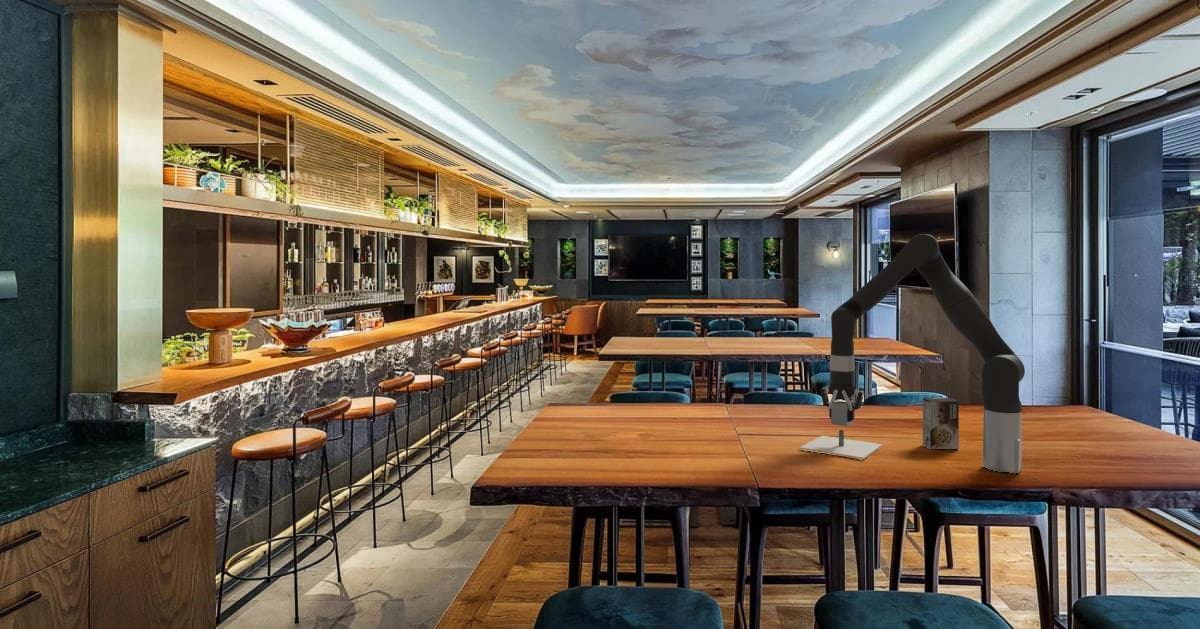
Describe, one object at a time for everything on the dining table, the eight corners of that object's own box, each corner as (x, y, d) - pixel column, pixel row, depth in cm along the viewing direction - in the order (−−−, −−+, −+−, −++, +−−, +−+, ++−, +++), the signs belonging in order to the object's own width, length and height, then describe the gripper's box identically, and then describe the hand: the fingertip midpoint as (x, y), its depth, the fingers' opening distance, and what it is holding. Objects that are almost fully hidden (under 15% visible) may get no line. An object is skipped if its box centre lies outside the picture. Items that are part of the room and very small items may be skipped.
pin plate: (882, 447, 209) (882, 428, 208) (863, 460, 193) (863, 440, 193) (821, 438, 221) (822, 420, 221) (799, 450, 206) (799, 431, 206)
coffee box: (950, 445, 210) (950, 397, 210) (959, 450, 204) (960, 400, 203) (921, 445, 211) (922, 397, 211) (929, 450, 205) (930, 400, 204)
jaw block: (851, 423, 207) (852, 402, 207) (846, 426, 203) (847, 404, 203) (836, 421, 210) (836, 400, 210) (831, 424, 207) (831, 403, 206)
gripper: (868, 369, 204) (867, 421, 205) (824, 366, 213) (823, 415, 214) (861, 372, 199) (860, 425, 199) (816, 368, 208) (815, 419, 208)
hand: (841, 420), depth 207 cm, fingers closed on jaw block, 5 cm apart
